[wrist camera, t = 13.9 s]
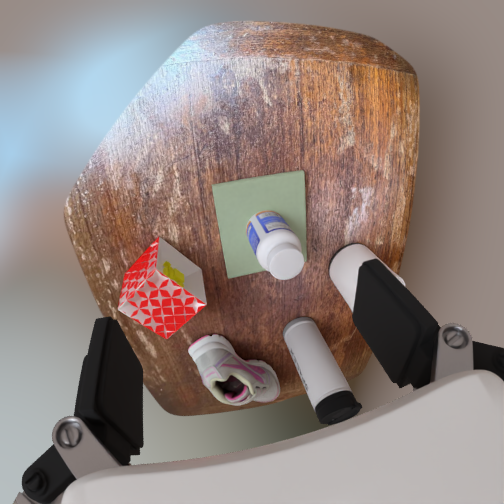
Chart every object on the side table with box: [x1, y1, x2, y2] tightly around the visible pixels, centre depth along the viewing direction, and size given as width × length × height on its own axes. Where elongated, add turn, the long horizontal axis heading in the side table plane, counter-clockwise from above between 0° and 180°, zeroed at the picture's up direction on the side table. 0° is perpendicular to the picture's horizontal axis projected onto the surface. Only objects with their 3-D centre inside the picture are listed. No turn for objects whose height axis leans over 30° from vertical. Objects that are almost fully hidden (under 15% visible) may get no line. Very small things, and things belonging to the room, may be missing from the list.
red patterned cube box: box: [118, 236, 207, 339], centre depth 38 cm, size 8×8×8 cm
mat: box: [212, 170, 307, 278], centre depth 41 cm, size 14×12×1 cm
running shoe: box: [188, 334, 280, 405], centre depth 51 cm, size 9×22×10 cm, turn 41°
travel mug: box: [283, 317, 362, 425], centre depth 45 cm, size 6×7×20 cm
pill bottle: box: [246, 210, 304, 280], centre depth 37 cm, size 5×5×10 cm
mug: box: [329, 243, 405, 313], centre depth 45 cm, size 11×9×10 cm
